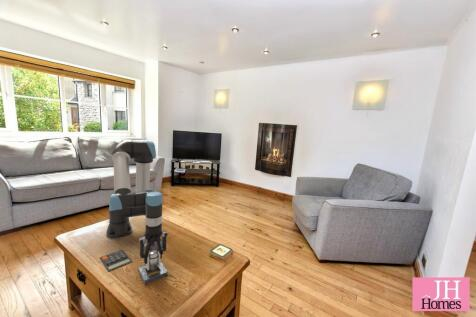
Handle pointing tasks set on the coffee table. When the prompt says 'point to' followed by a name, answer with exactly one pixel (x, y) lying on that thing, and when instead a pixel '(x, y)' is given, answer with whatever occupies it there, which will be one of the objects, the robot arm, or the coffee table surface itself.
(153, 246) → the brake caliper
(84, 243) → the coffee table surface
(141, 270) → the bore plate
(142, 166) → the robot arm
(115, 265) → the calculator
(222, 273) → the coffee table surface
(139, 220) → the coffee table surface
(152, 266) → the piston
